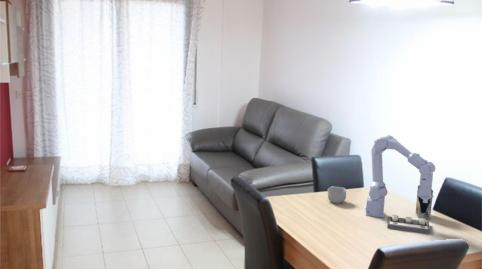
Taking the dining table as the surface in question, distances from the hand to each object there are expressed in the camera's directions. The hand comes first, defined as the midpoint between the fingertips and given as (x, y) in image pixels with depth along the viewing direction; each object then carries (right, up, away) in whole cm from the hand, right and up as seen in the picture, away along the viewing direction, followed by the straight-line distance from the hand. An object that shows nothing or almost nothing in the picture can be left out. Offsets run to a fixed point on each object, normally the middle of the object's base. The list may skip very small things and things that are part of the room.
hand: (423, 212), depth 219 cm
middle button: (-6, -6, +3) cm, 9 cm away
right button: (0, -6, +1) cm, 6 cm away
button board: (-7, -8, +3) cm, 11 cm away
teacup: (-36, -1, +40) cm, 54 cm away
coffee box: (+7, -6, +18) cm, 20 cm away
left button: (-12, -5, +5) cm, 14 cm away
